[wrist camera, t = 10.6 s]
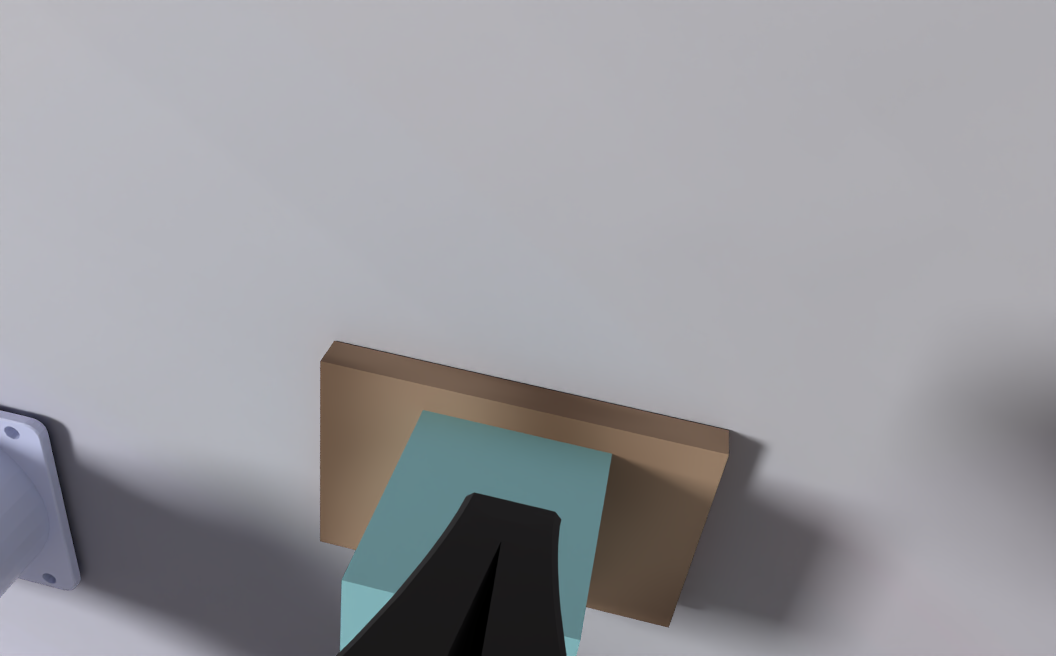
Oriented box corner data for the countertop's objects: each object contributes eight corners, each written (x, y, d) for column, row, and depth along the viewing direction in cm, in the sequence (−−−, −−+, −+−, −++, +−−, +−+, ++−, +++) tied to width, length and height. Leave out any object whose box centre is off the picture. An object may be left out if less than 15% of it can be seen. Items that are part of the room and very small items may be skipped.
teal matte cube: (411, 542, 27) (338, 720, 22) (423, 409, 24) (341, 580, 19) (579, 583, 26) (544, 775, 21) (612, 453, 23) (579, 640, 18)
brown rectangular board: (332, 518, 28) (262, 650, 24) (334, 341, 24) (251, 461, 20) (670, 601, 27) (659, 754, 23) (728, 430, 23) (728, 576, 19)
